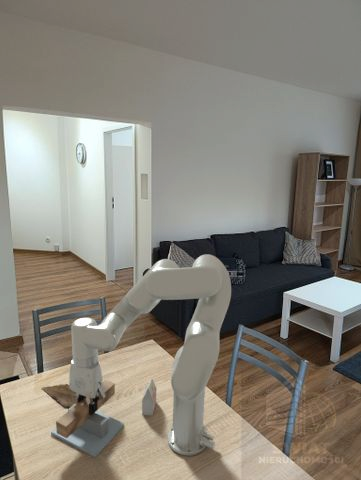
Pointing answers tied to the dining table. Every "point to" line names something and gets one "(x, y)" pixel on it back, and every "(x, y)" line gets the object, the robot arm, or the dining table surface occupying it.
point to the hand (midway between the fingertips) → (87, 409)
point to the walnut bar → (81, 412)
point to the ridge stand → (92, 433)
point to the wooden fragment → (62, 394)
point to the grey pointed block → (149, 399)
